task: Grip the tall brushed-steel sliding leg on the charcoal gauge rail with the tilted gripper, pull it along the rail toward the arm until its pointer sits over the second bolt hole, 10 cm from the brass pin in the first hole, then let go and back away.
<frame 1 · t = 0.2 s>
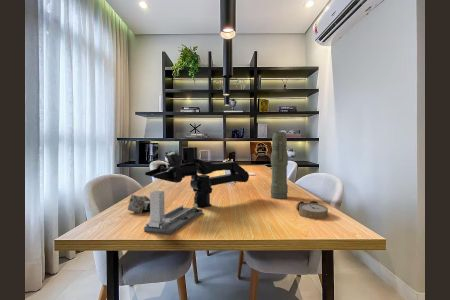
hand: (149, 175, 99), 17 cm above the table, tool horizontal, fingers open, 9 cm apart
alarm clock: (311, 214, 102), on the table
thermos: (279, 197, 132), on the table
gauge rail: (176, 221, 93), on the table
caster wheel: (146, 210, 107), on the table
sliding leg: (161, 208, 83), point 7 cm above the table, slide at 10.0 cm
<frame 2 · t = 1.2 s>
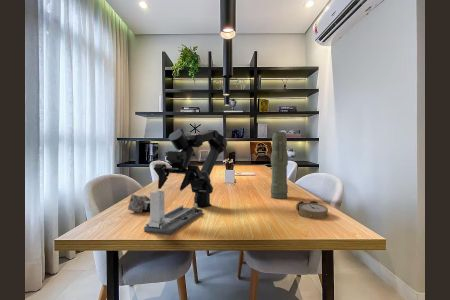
hand: (169, 189, 90), 12 cm above the table, tool tilted 45°, fingers open, 9 cm apart
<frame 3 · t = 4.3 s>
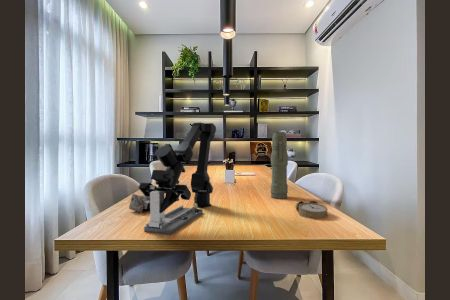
hand: (155, 212, 82), 7 cm above the table, tool tilted 45°, fingers closed on sliding leg, 4 cm apart
sliding leg: (161, 208, 83), point 7 cm above the table, slide at 10.0 cm, touching gripper
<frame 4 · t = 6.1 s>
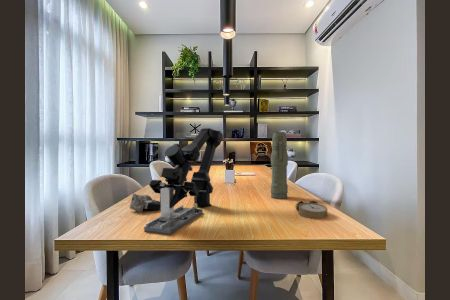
hand: (165, 207, 88), 7 cm above the table, tool tilted 45°, fingers closed on sliding leg, 4 cm apart
sliding leg: (171, 204, 88), point 7 cm above the table, slide at 3.8 cm, touching gripper
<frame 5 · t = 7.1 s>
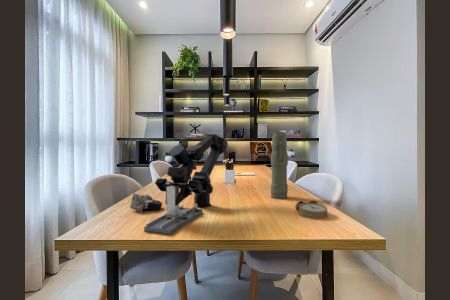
hand: (171, 204, 91), 7 cm above the table, tool tilted 45°, fingers closed on sliding leg, 4 cm apart
sliding leg: (176, 201, 92), point 7 cm above the table, slide at -0.1 cm, touching gripper
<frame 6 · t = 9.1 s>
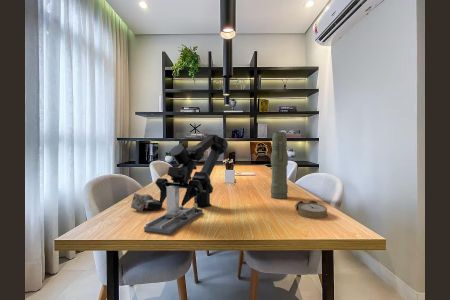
hand: (171, 204, 91), 7 cm above the table, tool tilted 45°, fingers open, 9 cm apart
sliding leg: (176, 201, 92), point 7 cm above the table, slide at -0.2 cm
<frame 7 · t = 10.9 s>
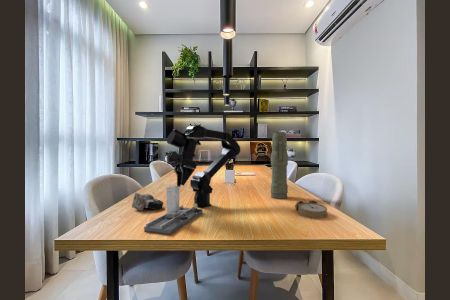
hand: (180, 186, 104), 11 cm above the table, tool tilted 20°, fingers open, 9 cm apart
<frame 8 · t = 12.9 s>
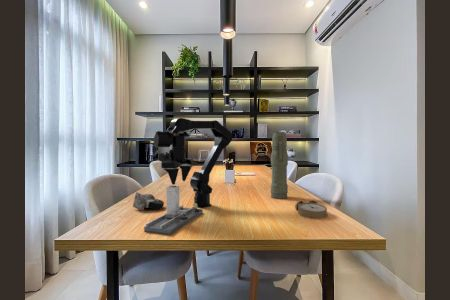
hand: (178, 182, 107), 12 cm above the table, tool pointing down, fingers open, 9 cm apart
at the end: sliding leg slide at -0.2 cm; the gripper is holding nothing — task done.
